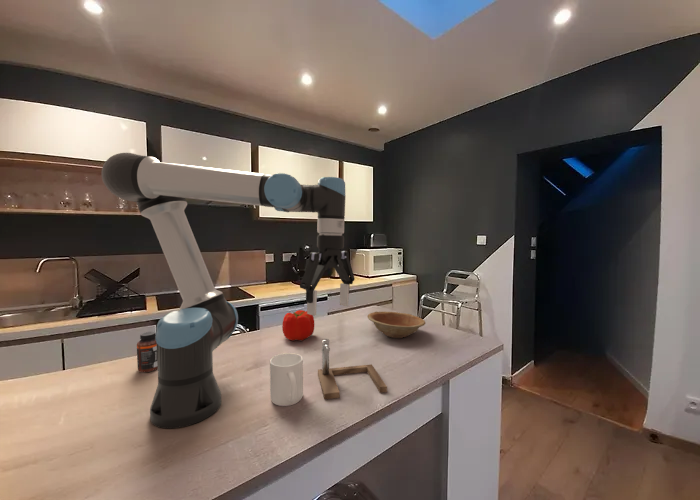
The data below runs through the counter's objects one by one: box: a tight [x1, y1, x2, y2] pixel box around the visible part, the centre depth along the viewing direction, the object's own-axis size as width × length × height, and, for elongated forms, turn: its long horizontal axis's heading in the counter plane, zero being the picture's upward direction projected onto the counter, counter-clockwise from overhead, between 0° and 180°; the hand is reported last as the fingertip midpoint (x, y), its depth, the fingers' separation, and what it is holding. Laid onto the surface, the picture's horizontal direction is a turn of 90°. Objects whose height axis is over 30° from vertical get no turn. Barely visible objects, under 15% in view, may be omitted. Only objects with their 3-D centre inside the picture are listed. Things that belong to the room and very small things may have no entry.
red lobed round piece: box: [281, 309, 315, 342], centre depth 123 cm, size 14×13×10 cm
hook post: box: [321, 338, 331, 375], centre depth 87 cm, size 2×6×10 cm, turn 13°
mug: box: [269, 352, 304, 407], centre depth 77 cm, size 12×8×10 cm
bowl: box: [367, 311, 426, 339], centre depth 127 cm, size 24×24×8 cm
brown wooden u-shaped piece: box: [317, 363, 388, 400], centre depth 87 cm, size 17×14×2 cm
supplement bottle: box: [136, 331, 158, 373], centre depth 95 cm, size 6×6×11 cm
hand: (328, 309), depth 86 cm, fingers open, 13 cm apart
